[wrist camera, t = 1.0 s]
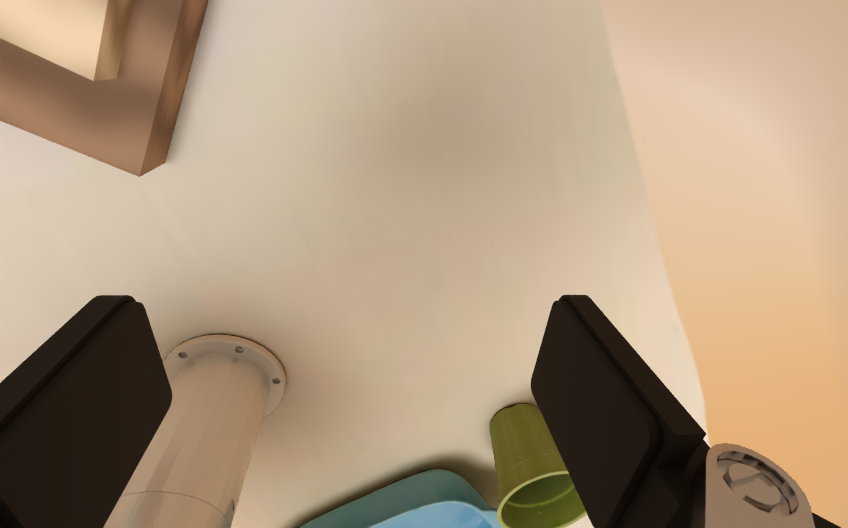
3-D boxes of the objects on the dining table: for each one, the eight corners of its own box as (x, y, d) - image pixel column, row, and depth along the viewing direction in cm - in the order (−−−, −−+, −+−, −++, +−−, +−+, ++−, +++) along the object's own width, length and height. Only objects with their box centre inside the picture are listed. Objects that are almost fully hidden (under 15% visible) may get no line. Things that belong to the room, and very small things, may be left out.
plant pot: (467, 453, 55) (489, 540, 45) (479, 391, 49) (507, 476, 39) (547, 448, 56) (585, 531, 47) (567, 387, 51) (615, 468, 41)
